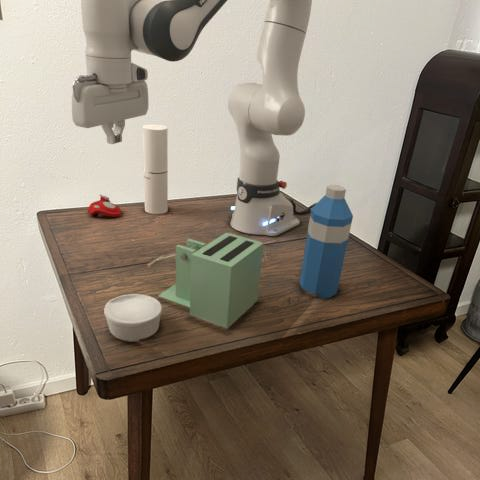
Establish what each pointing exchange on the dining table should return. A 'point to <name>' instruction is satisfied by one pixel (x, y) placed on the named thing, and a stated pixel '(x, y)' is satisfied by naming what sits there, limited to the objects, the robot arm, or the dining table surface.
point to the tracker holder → (104, 207)
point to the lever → (167, 258)
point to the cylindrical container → (155, 168)
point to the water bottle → (326, 243)
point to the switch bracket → (182, 275)
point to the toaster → (225, 279)
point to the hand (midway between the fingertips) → (114, 142)
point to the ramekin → (133, 316)
